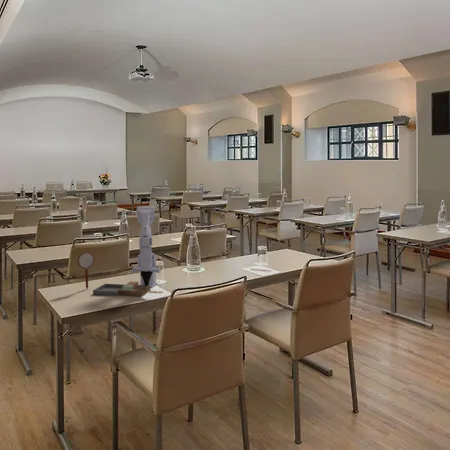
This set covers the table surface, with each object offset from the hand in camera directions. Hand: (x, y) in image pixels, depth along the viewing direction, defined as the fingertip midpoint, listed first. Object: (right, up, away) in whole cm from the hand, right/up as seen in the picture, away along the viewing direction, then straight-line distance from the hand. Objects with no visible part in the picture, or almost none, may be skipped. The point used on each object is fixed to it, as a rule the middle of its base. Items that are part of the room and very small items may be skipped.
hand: (146, 285), depth 253 cm
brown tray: (-6, -4, -1) cm, 7 cm away
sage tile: (-9, -2, -4) cm, 10 cm away
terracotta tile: (-8, -1, +2) cm, 8 cm away
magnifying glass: (-33, -3, +6) cm, 34 cm away
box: (-19, -3, +1) cm, 19 cm away
